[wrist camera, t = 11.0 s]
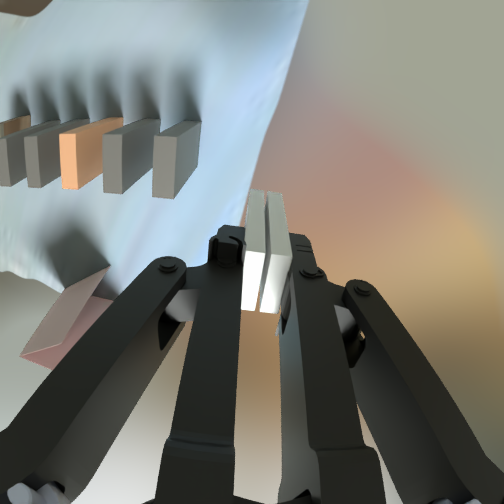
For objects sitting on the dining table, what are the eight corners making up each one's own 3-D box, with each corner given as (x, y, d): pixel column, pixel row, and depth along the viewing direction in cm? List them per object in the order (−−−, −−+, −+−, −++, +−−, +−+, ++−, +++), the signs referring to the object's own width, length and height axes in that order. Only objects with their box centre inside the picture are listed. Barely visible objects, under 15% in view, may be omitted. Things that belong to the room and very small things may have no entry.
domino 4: (181, 164, 32) (152, 196, 23) (184, 120, 29) (154, 135, 21) (197, 166, 32) (173, 199, 23) (201, 121, 29) (177, 137, 21)
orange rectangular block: (123, 117, 29) (75, 133, 20) (122, 159, 31) (78, 189, 23) (109, 117, 29) (59, 134, 20) (108, 159, 31) (62, 188, 23)
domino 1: (50, 158, 31) (0, 186, 22) (49, 120, 28) (-5, 139, 20) (61, 158, 31) (10, 186, 22) (60, 119, 29) (6, 138, 20)
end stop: (23, 165, 31) (-5, 181, 26) (20, 116, 28) (-10, 126, 22) (32, 165, 31) (4, 181, 26) (30, 115, 28) (0, 124, 23)
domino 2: (77, 158, 31) (28, 187, 23) (77, 118, 29) (24, 137, 20) (89, 159, 31) (41, 188, 23) (89, 118, 29) (37, 136, 20)
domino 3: (143, 161, 32) (103, 192, 23) (145, 118, 29) (102, 134, 20) (158, 162, 32) (122, 194, 23) (160, 118, 29) (122, 134, 21)
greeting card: (65, 293, 42) (21, 360, 29) (57, 254, 38) (2, 320, 25) (127, 308, 43) (91, 387, 30) (124, 268, 39) (77, 348, 26)
